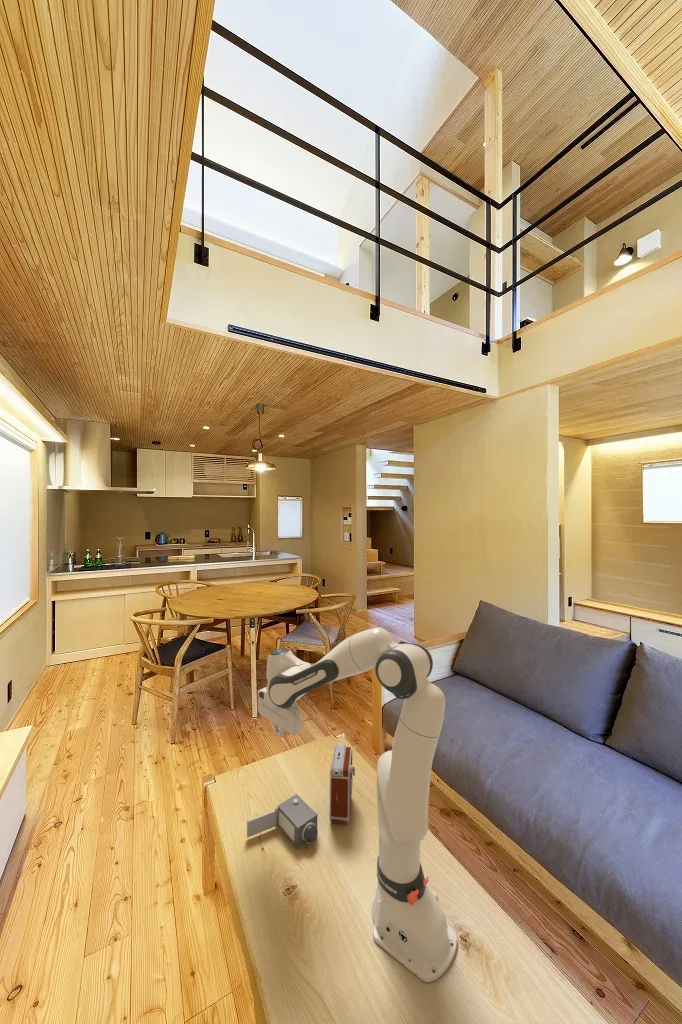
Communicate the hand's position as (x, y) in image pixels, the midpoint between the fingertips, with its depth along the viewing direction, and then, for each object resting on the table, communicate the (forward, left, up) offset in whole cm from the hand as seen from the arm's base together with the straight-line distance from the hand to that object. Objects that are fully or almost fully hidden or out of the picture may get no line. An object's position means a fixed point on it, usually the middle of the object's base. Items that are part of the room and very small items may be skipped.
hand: (279, 735), depth 130 cm
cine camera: (-8, -22, -31) cm, 39 cm away
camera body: (-8, -3, -31) cm, 32 cm away
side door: (0, +6, -30) cm, 31 cm away
